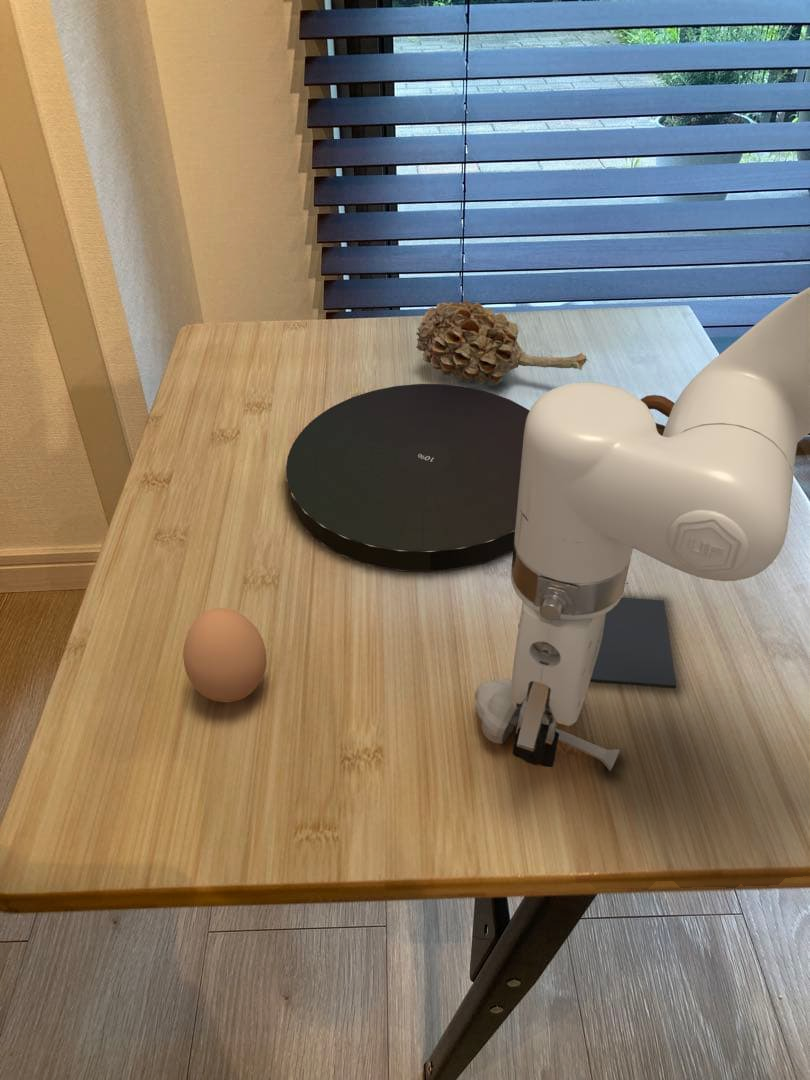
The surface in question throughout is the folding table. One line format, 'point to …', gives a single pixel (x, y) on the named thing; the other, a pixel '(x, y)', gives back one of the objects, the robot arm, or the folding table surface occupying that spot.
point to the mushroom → (503, 717)
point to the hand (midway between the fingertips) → (544, 724)
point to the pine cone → (477, 344)
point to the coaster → (635, 645)
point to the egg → (224, 655)
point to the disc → (411, 476)
